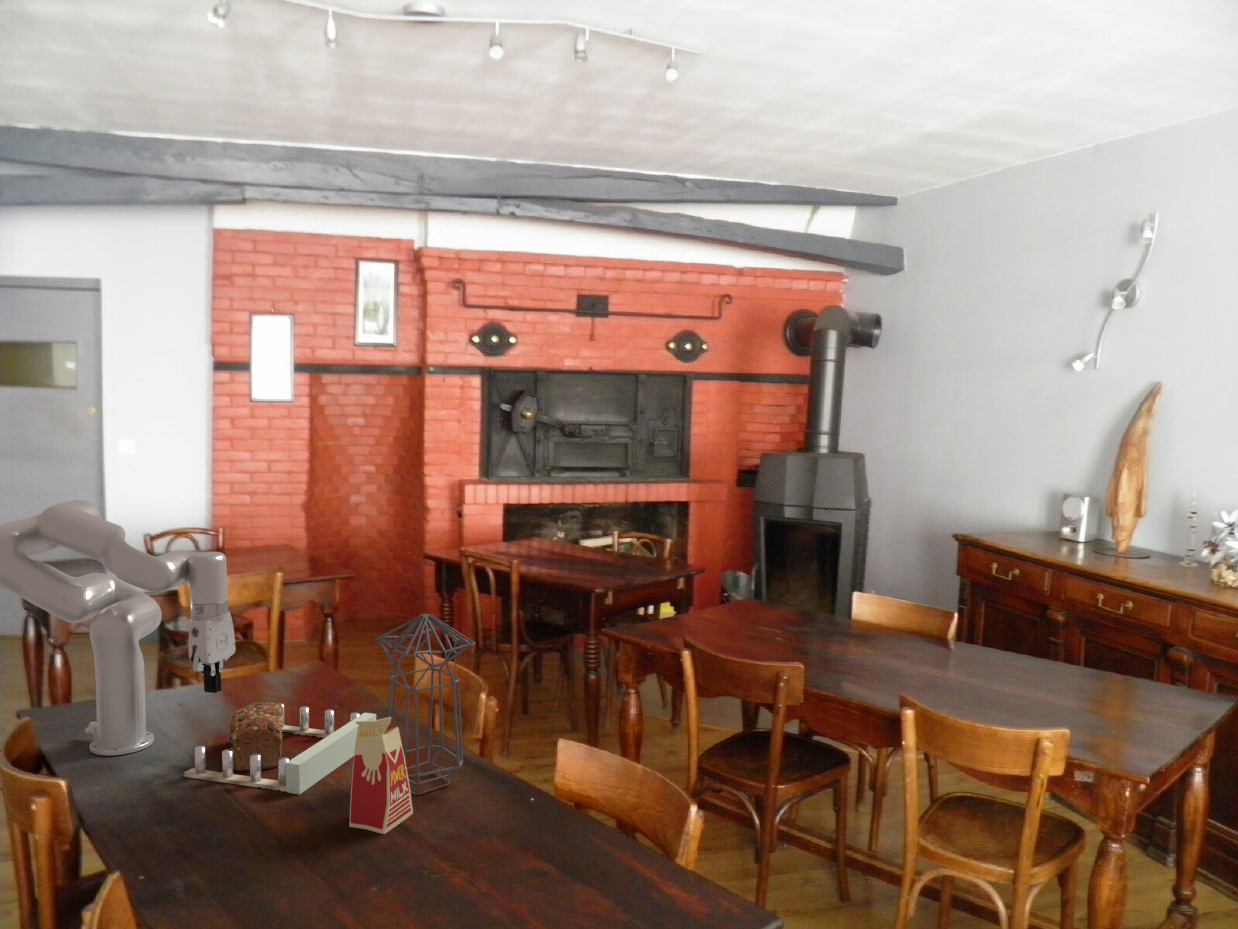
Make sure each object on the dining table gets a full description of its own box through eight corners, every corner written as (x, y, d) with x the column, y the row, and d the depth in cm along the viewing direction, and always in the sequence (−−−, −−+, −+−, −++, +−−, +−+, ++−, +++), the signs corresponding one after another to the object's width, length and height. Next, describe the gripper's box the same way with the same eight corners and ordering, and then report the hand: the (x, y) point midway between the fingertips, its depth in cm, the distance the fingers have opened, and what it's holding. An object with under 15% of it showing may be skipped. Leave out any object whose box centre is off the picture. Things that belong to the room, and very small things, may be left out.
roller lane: (182, 777, 194) (182, 748, 194) (272, 726, 223) (272, 701, 222) (299, 794, 187) (299, 765, 187) (376, 739, 216) (376, 714, 216)
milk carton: (413, 813, 180) (413, 710, 178) (385, 835, 172) (385, 727, 170) (371, 805, 183) (371, 704, 181) (342, 826, 174) (342, 720, 173)
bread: (282, 769, 200) (281, 722, 199) (227, 774, 196) (226, 727, 196) (285, 736, 217) (284, 694, 216) (234, 741, 214) (234, 698, 213)
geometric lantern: (372, 780, 195) (371, 611, 192) (441, 762, 204) (441, 601, 201) (406, 808, 182) (406, 628, 179) (478, 787, 192) (479, 617, 189)
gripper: (200, 618, 199) (204, 704, 201) (246, 602, 213) (249, 682, 215) (170, 616, 201) (174, 701, 202) (217, 600, 215) (220, 679, 217)
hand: (212, 691), depth 209 cm, fingers closed
